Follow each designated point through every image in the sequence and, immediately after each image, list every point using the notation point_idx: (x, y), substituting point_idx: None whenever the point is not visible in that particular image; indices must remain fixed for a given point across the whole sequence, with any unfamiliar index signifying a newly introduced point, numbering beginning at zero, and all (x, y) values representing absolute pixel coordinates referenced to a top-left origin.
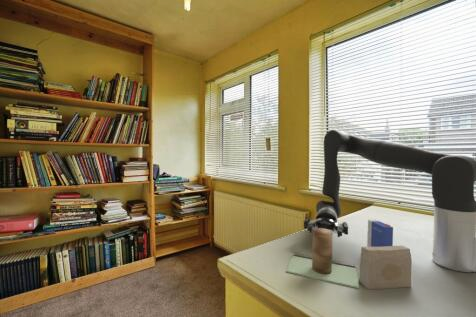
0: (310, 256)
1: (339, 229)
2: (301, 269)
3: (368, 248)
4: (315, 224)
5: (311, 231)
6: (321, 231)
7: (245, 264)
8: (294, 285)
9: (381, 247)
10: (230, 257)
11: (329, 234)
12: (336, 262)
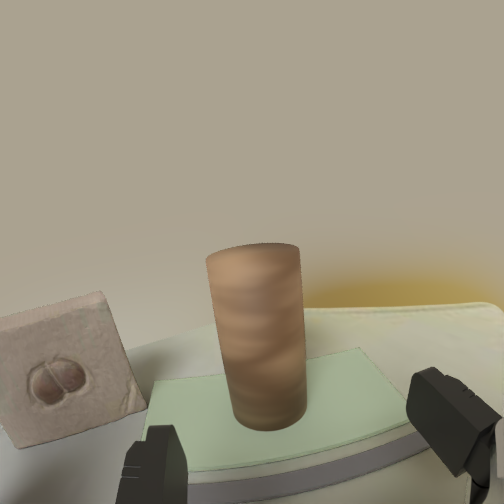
0: (359, 466)
1: (147, 452)
2: (329, 372)
3: (89, 297)
4: (486, 501)
5: (407, 400)
6: (255, 250)
7: (450, 317)
8: (308, 332)
9: (38, 316)
10: (495, 311)
11: (218, 252)
12: (220, 485)
